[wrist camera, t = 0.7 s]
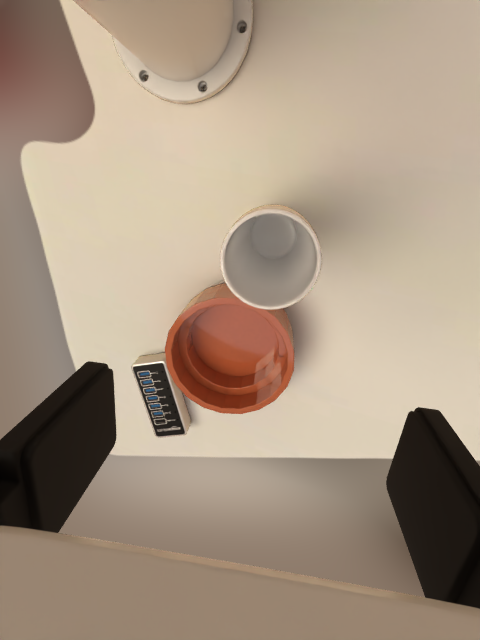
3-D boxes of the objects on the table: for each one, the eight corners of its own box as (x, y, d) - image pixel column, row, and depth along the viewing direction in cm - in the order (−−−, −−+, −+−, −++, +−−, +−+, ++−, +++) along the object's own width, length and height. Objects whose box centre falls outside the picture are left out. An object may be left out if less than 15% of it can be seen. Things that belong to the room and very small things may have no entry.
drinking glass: (237, 258, 37) (212, 301, 23) (247, 193, 35) (225, 198, 21) (298, 269, 37) (309, 319, 23) (312, 204, 34) (335, 217, 21)
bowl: (162, 301, 40) (144, 320, 35) (271, 266, 37) (270, 280, 32) (205, 395, 44) (194, 425, 39) (305, 369, 41) (309, 397, 36)
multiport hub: (170, 351, 42) (164, 360, 40) (191, 423, 46) (187, 435, 44) (137, 356, 43) (129, 365, 41) (161, 426, 47) (155, 438, 45)
